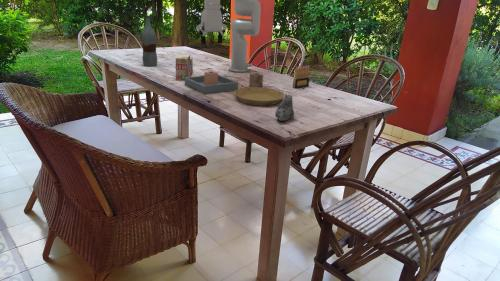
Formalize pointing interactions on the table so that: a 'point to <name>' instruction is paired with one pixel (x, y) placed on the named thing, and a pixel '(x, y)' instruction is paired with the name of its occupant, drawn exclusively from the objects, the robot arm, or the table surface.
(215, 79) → the terracotta block
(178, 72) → the stack of blocks
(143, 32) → the bottle
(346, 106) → the table surface
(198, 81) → the tray
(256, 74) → the walnut block
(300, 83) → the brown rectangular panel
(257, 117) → the table surface
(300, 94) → the table surface
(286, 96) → the mineral rock
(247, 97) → the plant saucer
